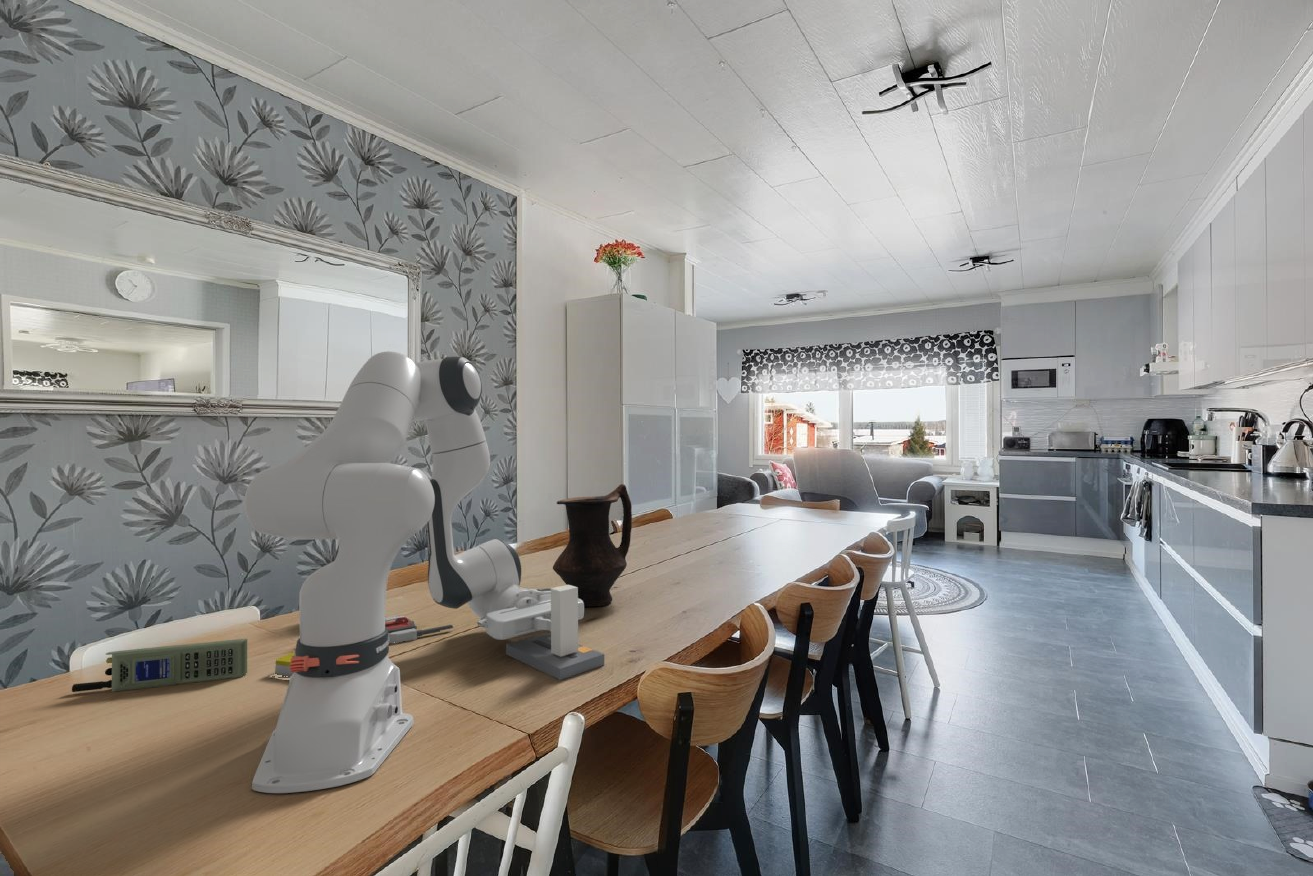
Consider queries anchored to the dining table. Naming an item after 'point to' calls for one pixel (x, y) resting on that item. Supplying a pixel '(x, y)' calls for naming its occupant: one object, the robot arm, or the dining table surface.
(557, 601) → the switch tab
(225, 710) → the dining table surface
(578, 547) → the jug
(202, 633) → the dining table surface
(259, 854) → the dining table surface
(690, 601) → the dining table surface
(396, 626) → the walkie-talkie
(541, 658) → the switch panel
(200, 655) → the handheld radio
